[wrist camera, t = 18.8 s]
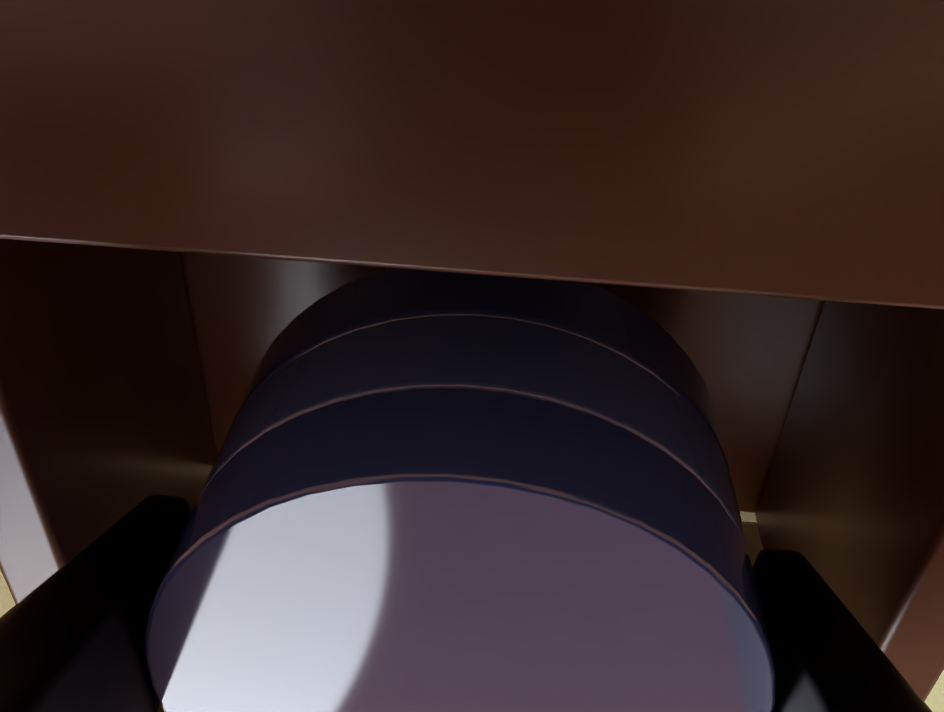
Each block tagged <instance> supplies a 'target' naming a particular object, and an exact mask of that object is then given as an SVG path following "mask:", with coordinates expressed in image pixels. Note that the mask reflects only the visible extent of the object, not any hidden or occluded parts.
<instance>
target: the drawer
mask: <svg viewBox="0 0 944 712" xmlns="http://www.w3.org/2000/svg"><path fill="white" fill-rule="evenodd" d="M384 269H388V268H386V267H372V266H359V265H346V264H332V263H319V262H306V261H292V260H279V259H266V258H253V257H239V256H226V255H213V254H199V253H186V252H173V251H159V250H146V249H133V248H119V247H106V246H93V245H80V244H66V243H53V242H40V241H26V240H13V239H0V569H1V571H2V573H3V576H4V578H5V580H6V583H7V585H8V587H9V590H10V592H11V594H12V597H13V599H14V601H15V604H18V603H19V602H20V601H21V600H23V599H24V598H25V597H26V596H27V595H29V594H30V593H31V592H32V591H33V590H35V589H36V588H37V587H38V586H39V585H41V584H42V583H43V582H44V581H46V580H47V579H48V578H49V577H50V576H52V575H53V574H54V573H55V572H56V571H58V570H59V569H60V568H61V567H63V566H64V565H65V564H66V563H67V562H69V561H70V560H71V559H72V558H73V557H75V556H76V555H77V554H78V553H80V552H81V551H82V550H83V549H84V548H86V547H87V546H88V545H89V544H90V543H92V542H93V541H94V540H95V539H97V538H98V537H99V536H100V535H101V534H103V533H104V532H105V531H106V530H107V529H109V528H110V527H111V526H112V525H114V524H115V523H116V522H117V521H118V520H120V519H121V518H122V517H123V516H124V515H126V514H127V513H128V512H129V511H130V510H132V509H133V508H134V507H135V506H137V505H138V504H139V503H140V502H141V501H143V500H144V499H145V498H147V497H149V496H152V495H165V496H176V497H183V498H185V499H187V500H188V502H189V503H190V506H191V510H192V512H193V509H194V507H195V505H196V503H197V500H198V498H199V496H200V494H201V492H202V489H203V487H204V485H205V483H206V480H207V478H208V476H209V474H210V472H211V469H212V467H213V465H214V463H215V460H216V458H217V456H218V454H219V452H220V449H221V447H222V445H223V443H224V440H225V438H226V436H227V434H228V432H229V429H230V427H231V425H232V423H233V421H234V418H235V416H236V414H237V412H238V409H239V407H240V405H241V403H242V400H243V398H244V396H245V394H246V392H247V389H248V387H249V385H250V383H251V380H252V378H253V376H254V374H255V372H256V369H257V367H258V365H259V363H260V361H261V359H262V358H263V356H264V355H265V353H266V352H267V350H268V349H269V347H270V346H271V344H272V343H273V341H274V340H275V338H276V337H277V336H278V335H279V334H280V333H281V332H282V331H283V330H284V329H285V328H286V326H287V325H288V324H289V323H290V322H291V321H292V320H293V319H294V318H295V317H296V316H298V315H299V314H300V313H302V312H303V311H304V310H305V309H307V308H308V307H309V306H310V305H312V304H313V303H314V302H316V301H317V300H318V299H320V298H322V297H324V296H325V295H327V294H329V293H331V292H332V291H334V290H336V289H338V288H339V287H341V286H343V285H345V284H347V283H349V282H352V281H354V280H357V279H359V278H362V277H364V276H367V275H369V274H371V273H374V272H376V271H380V270H384ZM593 284H596V285H598V286H600V287H602V288H604V289H606V290H608V291H610V292H612V293H614V294H616V295H618V296H619V297H621V298H622V299H624V300H626V301H627V302H629V303H630V304H632V305H633V306H635V307H636V308H638V309H639V310H641V311H643V312H644V313H645V314H647V315H648V316H649V317H650V318H651V319H652V320H654V321H655V322H656V323H657V324H658V325H659V326H661V327H662V328H663V329H664V330H665V331H666V332H668V333H669V334H670V335H671V337H672V338H673V339H674V340H675V341H676V342H677V343H678V345H679V346H680V347H681V348H682V349H683V350H684V351H685V352H686V354H687V355H688V356H689V357H690V359H691V360H692V362H693V364H694V365H695V367H696V368H697V370H698V371H699V373H700V375H701V376H702V378H703V379H704V381H705V384H706V386H707V388H708V391H709V393H710V395H711V398H712V400H713V402H714V405H715V409H716V413H717V418H718V422H719V426H720V430H721V435H722V439H723V443H724V448H725V452H726V456H727V461H728V465H729V469H730V473H731V478H732V482H733V486H734V491H735V495H736V499H737V504H738V508H739V511H745V512H756V513H755V515H756V520H757V523H753V522H742V525H743V530H744V534H745V538H746V543H747V547H748V551H749V555H750V560H751V564H752V568H753V565H754V562H755V560H756V557H757V555H758V553H759V552H760V551H761V550H762V549H764V548H775V549H786V550H795V551H798V552H800V553H801V554H802V555H804V556H805V558H806V559H807V560H808V561H809V562H810V564H811V565H812V566H813V567H814V568H815V570H816V571H817V572H818V573H819V575H820V576H821V577H822V578H823V579H824V581H825V582H826V583H827V584H828V585H829V587H830V588H831V589H832V590H833V592H834V593H835V594H836V595H837V596H838V598H839V599H840V600H841V601H842V603H843V604H844V605H845V606H846V607H847V609H848V610H849V611H850V612H851V613H852V615H853V616H854V617H855V618H856V620H857V621H858V622H859V623H860V624H861V626H862V627H863V628H864V629H865V631H866V632H867V633H868V634H869V635H870V637H871V638H872V639H873V640H874V641H875V643H876V644H877V645H878V646H879V648H880V649H881V650H882V651H883V652H884V654H885V655H886V656H887V657H888V659H889V660H890V661H891V662H892V663H893V665H894V666H895V667H896V668H897V669H898V671H899V672H900V673H901V674H902V676H903V677H904V678H905V679H906V680H907V682H908V683H909V684H910V685H911V686H912V688H913V689H914V690H915V691H916V693H917V694H918V695H919V696H920V697H921V699H922V700H923V701H925V699H926V698H927V696H928V694H929V693H930V691H931V689H932V688H933V686H934V684H935V683H936V681H937V679H938V678H939V676H940V674H941V673H942V671H943V669H944V309H931V308H918V307H904V306H891V305H878V304H865V303H851V302H838V301H825V300H811V299H798V298H785V297H771V296H758V295H745V294H732V293H718V292H705V291H692V290H678V289H665V288H652V287H638V286H625V285H612V284H598V283H593ZM157 712H164V710H163V709H162V707H161V704H160V705H159V708H158V711H157Z"/></svg>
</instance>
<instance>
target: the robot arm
mask: <svg viewBox="0 0 944 712" xmlns="http://www.w3.org/2000/svg"><path fill="white" fill-rule="evenodd" d="M191 514H192V510H191V506H190V503H189V502H188V500H187V499H185V498H183V497H176V496H165V495H152V496H149V497H147V498H145V499H144V500H143V501H141V502H140V503H139V504H138V505H137V506H135V507H134V508H133V509H132V510H130V511H129V512H128V513H127V514H126V515H124V516H123V517H122V518H121V519H120V520H118V521H117V522H116V523H115V524H114V525H112V526H111V527H110V528H109V529H107V530H106V531H105V532H104V533H103V534H101V535H100V536H99V537H98V538H97V539H95V540H94V541H93V542H92V543H90V544H89V545H88V546H87V547H86V548H84V549H83V550H82V551H81V552H80V553H78V554H77V555H76V556H75V557H73V558H72V559H71V560H70V561H69V562H67V563H66V564H65V565H64V566H63V567H61V568H60V569H59V570H58V571H56V572H55V573H54V574H53V575H52V576H50V577H49V578H48V579H47V580H46V581H44V582H43V583H42V584H41V585H39V586H38V587H37V588H36V589H35V590H33V591H32V592H31V593H30V594H29V595H27V596H26V597H25V598H24V599H23V600H21V601H20V602H19V603H18V604H16V605H15V606H14V607H13V608H12V609H10V610H9V611H8V612H7V613H6V614H4V615H3V616H2V617H1V618H0V712H157V711H158V708H159V705H160V702H159V700H158V698H157V695H156V693H155V691H154V689H153V686H152V684H151V679H150V675H149V671H148V667H147V663H146V645H145V630H146V625H147V619H148V614H149V609H150V605H151V603H152V601H153V599H154V596H155V594H156V592H157V589H158V587H159V585H160V583H161V580H162V578H163V576H164V574H165V572H166V569H167V567H168V565H169V563H170V560H171V558H172V556H173V554H174V552H175V549H176V547H177V545H178V543H179V540H180V538H181V536H182V534H183V532H184V529H185V527H186V525H187V523H188V520H189V518H190V516H191ZM753 573H754V577H755V581H756V586H757V590H758V594H759V599H760V603H761V607H762V612H763V616H764V620H765V625H766V629H767V633H768V637H769V642H770V646H771V650H772V655H773V659H774V663H775V668H776V701H775V706H774V710H773V712H932V711H931V710H930V708H929V707H928V706H927V705H926V704H925V702H924V701H923V700H922V699H921V697H920V696H919V695H918V694H917V693H916V691H915V690H914V689H913V688H912V686H911V685H910V684H909V683H908V682H907V680H906V679H905V678H904V677H903V676H902V674H901V673H900V672H899V671H898V669H897V668H896V667H895V666H894V665H893V663H892V662H891V661H890V660H889V659H888V657H887V656H886V655H885V654H884V652H883V651H882V650H881V649H880V648H879V646H878V645H877V644H876V643H875V641H874V640H873V639H872V638H871V637H870V635H869V634H868V633H867V632H866V631H865V629H864V628H863V627H862V626H861V624H860V623H859V622H858V621H857V620H856V618H855V617H854V616H853V615H852V613H851V612H850V611H849V610H848V609H847V607H846V606H845V605H844V604H843V603H842V601H841V600H840V599H839V598H838V596H837V595H836V594H835V593H834V592H833V590H832V589H831V588H830V587H829V585H828V584H827V583H826V582H825V581H824V579H823V578H822V577H821V576H820V575H819V573H818V572H817V571H816V570H815V568H814V567H813V566H812V565H811V564H810V562H809V561H808V560H807V559H806V558H805V556H804V555H802V554H801V553H800V552H798V551H795V550H786V549H775V548H764V549H762V550H761V551H760V552H759V553H758V555H757V557H756V560H755V562H754V565H753Z"/></svg>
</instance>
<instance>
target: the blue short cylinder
mask: <svg viewBox="0 0 944 712" xmlns="http://www.w3.org/2000/svg"><path fill="white" fill-rule="evenodd" d="M145 645H146V663H147V667H148V671H149V675H150V679H151V684H152V686H153V689H154V691H155V693H156V695H157V698H158V700H159V702H160V704H161V707H162V709H163V710H164V712H773V710H774V706H775V701H776V668H775V663H774V659H773V655H772V650H771V646H770V642H769V637H768V633H767V629H766V625H765V620H764V616H763V612H762V607H761V603H760V599H759V594H758V590H757V586H756V581H755V577H754V573H753V568H752V564H751V560H750V555H749V551H748V547H747V543H746V538H745V534H744V530H743V525H742V521H741V517H740V512H739V508H738V504H737V499H736V495H735V491H734V486H733V482H732V478H731V473H730V469H729V465H728V461H727V456H726V452H725V448H724V443H723V439H722V435H721V430H720V426H719V422H718V418H717V413H716V409H715V405H714V402H713V400H712V398H711V395H710V393H709V391H708V388H707V386H706V384H705V381H704V379H703V378H702V376H701V375H700V373H699V371H698V370H697V368H696V367H695V365H694V364H693V362H692V360H691V359H690V357H689V356H688V355H687V354H686V352H685V351H684V350H683V349H682V348H681V347H680V346H679V345H678V343H677V342H676V341H675V340H674V339H673V338H672V337H671V335H670V334H669V333H668V332H666V331H665V330H664V329H663V328H662V327H661V326H659V325H658V324H657V323H656V322H655V321H654V320H652V319H651V318H650V317H649V316H648V315H647V314H645V313H644V312H643V311H641V310H639V309H638V308H636V307H635V306H633V305H632V304H630V303H629V302H627V301H626V300H624V299H622V298H621V297H619V296H618V295H616V294H614V293H612V292H610V291H608V290H606V289H604V288H602V287H600V286H598V285H596V284H593V283H585V282H572V281H559V280H545V279H532V278H519V277H505V276H492V275H479V274H465V273H452V272H439V271H426V270H412V269H399V268H388V269H384V270H380V271H376V272H374V273H371V274H369V275H367V276H364V277H362V278H359V279H357V280H354V281H352V282H349V283H347V284H345V285H343V286H341V287H339V288H338V289H336V290H334V291H332V292H331V293H329V294H327V295H325V296H324V297H322V298H320V299H318V300H317V301H316V302H314V303H313V304H312V305H310V306H309V307H308V308H307V309H305V310H304V311H303V312H302V313H300V314H299V315H298V316H296V317H295V318H294V319H293V320H292V321H291V322H290V323H289V324H288V325H287V326H286V328H285V329H284V330H283V331H282V332H281V333H280V334H279V335H278V336H277V337H276V338H275V340H274V341H273V343H272V344H271V346H270V347H269V349H268V350H267V352H266V353H265V355H264V356H263V358H262V359H261V361H260V363H259V365H258V367H257V369H256V372H255V374H254V376H253V378H252V380H251V383H250V385H249V387H248V389H247V392H246V394H245V396H244V398H243V400H242V403H241V405H240V407H239V409H238V412H237V414H236V416H235V418H234V421H233V423H232V425H231V427H230V429H229V432H228V434H227V436H226V438H225V440H224V443H223V445H222V447H221V449H220V452H219V454H218V456H217V458H216V460H215V463H214V465H213V467H212V469H211V472H210V474H209V476H208V478H207V480H206V483H205V485H204V487H203V489H202V492H201V494H200V496H199V498H198V500H197V503H196V505H195V507H194V509H193V512H192V514H191V516H190V518H189V520H188V523H187V525H186V527H185V529H184V532H183V534H182V536H181V538H180V540H179V543H178V545H177V547H176V549H175V552H174V554H173V556H172V558H171V560H170V563H169V565H168V567H167V569H166V572H165V574H164V576H163V578H162V580H161V583H160V585H159V587H158V589H157V592H156V594H155V596H154V599H153V601H152V603H151V605H150V609H149V614H148V619H147V625H146V630H145Z"/></svg>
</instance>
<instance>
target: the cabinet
mask: <svg viewBox="0 0 944 712" xmlns="http://www.w3.org/2000/svg"><path fill="white" fill-rule="evenodd" d="M0 239H13V240H26V241H40V242H53V243H66V244H80V245H93V246H106V247H119V248H133V249H146V250H159V251H173V252H186V253H199V254H213V255H226V256H239V257H253V258H266V259H279V260H292V261H306V262H319V263H332V264H346V265H359V266H372V267H386V268H399V269H412V270H426V271H439V272H452V273H465V274H479V275H492V276H505V277H519V278H532V279H545V280H559V281H572V282H585V283H598V284H612V285H625V286H638V287H652V288H665V289H678V290H692V291H705V292H718V293H732V294H745V295H758V296H771V297H785V298H798V299H811V300H825V301H838V302H851V303H865V304H878V305H891V306H904V307H918V308H931V309H944V0H0Z"/></svg>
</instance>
